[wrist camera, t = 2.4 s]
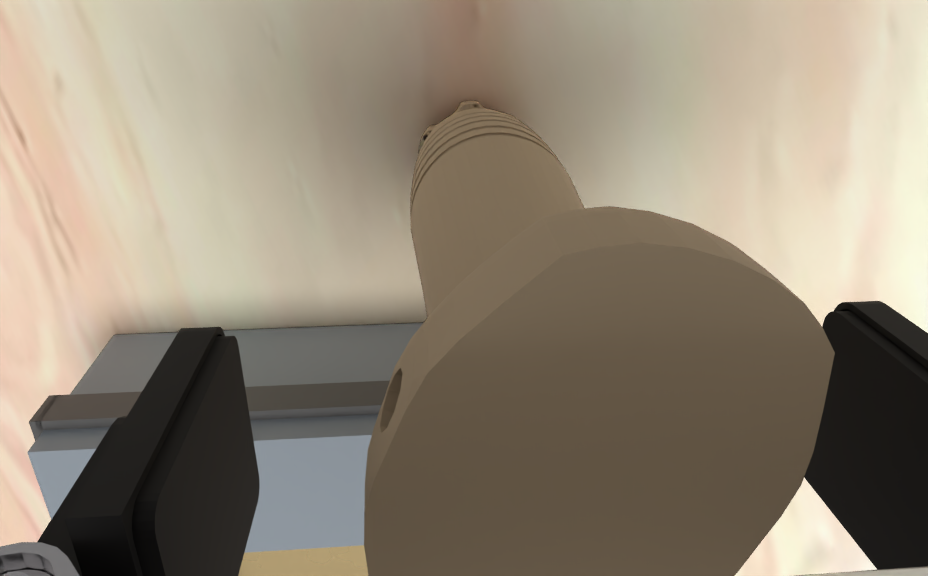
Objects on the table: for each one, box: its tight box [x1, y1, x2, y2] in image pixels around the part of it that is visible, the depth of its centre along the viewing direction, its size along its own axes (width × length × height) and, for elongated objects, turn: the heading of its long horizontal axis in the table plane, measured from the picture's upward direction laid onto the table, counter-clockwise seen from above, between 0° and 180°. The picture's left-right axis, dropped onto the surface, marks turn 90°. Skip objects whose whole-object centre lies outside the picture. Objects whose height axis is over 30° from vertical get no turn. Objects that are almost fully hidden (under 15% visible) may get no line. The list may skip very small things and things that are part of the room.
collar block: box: [28, 323, 423, 553], centre depth 25 cm, size 17×15×6 cm
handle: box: [364, 101, 835, 576], centre depth 15 cm, size 5×6×15 cm
